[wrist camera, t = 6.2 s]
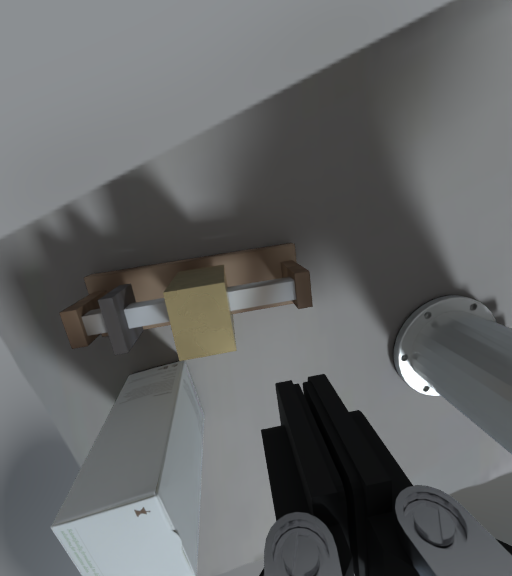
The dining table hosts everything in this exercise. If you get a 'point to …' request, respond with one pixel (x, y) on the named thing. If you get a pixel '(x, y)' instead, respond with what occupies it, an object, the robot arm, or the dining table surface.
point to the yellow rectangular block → (200, 313)
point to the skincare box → (140, 483)
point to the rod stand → (155, 279)
